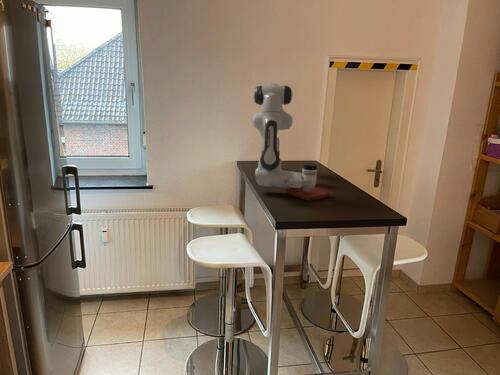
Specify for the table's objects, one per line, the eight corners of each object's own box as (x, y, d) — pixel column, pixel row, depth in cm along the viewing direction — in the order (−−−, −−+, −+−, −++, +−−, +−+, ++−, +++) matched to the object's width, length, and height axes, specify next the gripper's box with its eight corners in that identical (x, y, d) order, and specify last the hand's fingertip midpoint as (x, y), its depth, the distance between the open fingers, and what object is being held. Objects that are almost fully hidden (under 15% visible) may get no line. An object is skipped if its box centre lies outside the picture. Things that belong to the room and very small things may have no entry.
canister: (302, 188, 212) (303, 170, 209) (314, 189, 211) (315, 171, 209) (302, 191, 206) (303, 173, 203) (314, 192, 205) (316, 174, 203)
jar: (307, 186, 227) (309, 166, 224) (298, 183, 233) (299, 163, 230) (318, 185, 232) (320, 165, 228) (309, 181, 238) (311, 162, 235)
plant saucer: (284, 194, 211) (284, 188, 210) (307, 190, 222) (308, 184, 221) (307, 203, 198) (308, 197, 197) (331, 198, 208) (332, 192, 207)
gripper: (284, 178, 198) (312, 179, 196) (285, 169, 217) (310, 170, 216) (283, 190, 199) (311, 191, 198) (284, 180, 219) (309, 181, 218)
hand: (310, 180), depth 207 cm, fingers closed on canister, 6 cm apart
